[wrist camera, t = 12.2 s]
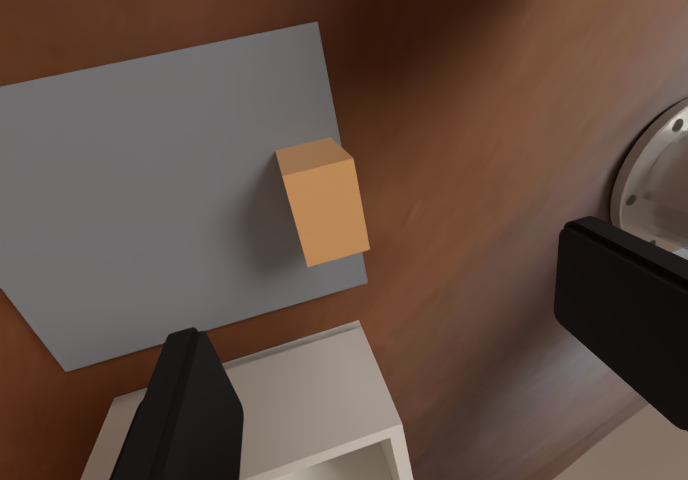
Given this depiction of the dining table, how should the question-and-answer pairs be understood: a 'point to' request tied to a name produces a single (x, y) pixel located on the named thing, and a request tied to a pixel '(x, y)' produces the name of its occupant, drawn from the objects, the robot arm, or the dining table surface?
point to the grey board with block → (175, 194)
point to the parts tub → (297, 414)
